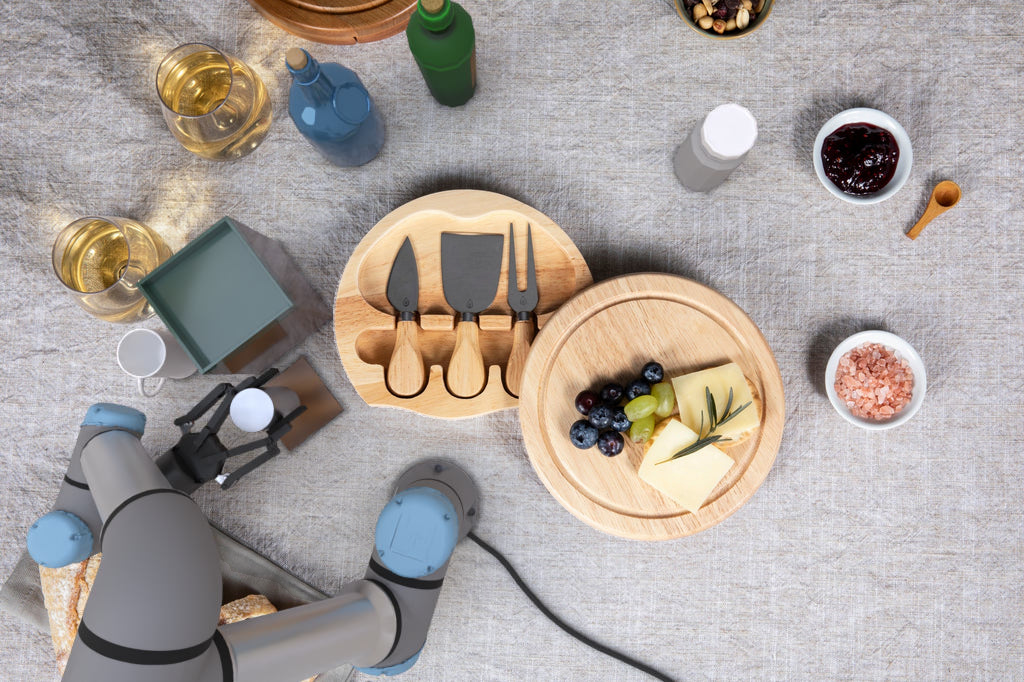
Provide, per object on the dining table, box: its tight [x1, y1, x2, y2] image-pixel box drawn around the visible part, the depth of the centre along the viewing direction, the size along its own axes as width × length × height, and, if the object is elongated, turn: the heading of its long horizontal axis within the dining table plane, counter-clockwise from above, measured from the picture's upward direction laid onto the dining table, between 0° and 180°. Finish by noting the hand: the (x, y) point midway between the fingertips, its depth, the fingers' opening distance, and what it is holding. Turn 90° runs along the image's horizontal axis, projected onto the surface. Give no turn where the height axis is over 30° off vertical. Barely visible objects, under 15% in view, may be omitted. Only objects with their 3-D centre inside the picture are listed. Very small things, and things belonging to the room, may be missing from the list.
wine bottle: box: [284, 47, 386, 168], centre depth 106 cm, size 14×13×30 cm
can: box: [229, 386, 300, 434], centre depth 105 cm, size 7×7×12 cm
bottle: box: [405, 0, 478, 108], centre depth 107 cm, size 11×11×28 cm
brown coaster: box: [263, 356, 345, 452], centre depth 118 cm, size 12×12×1 cm
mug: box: [116, 327, 198, 399], centre depth 113 cm, size 12×8×12 cm
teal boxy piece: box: [134, 215, 334, 376], centre depth 109 cm, size 17×17×21 cm
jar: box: [673, 102, 759, 192], centre depth 110 cm, size 10×10×18 cm
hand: (289, 388), depth 103 cm, fingers closed on can, 7 cm apart
